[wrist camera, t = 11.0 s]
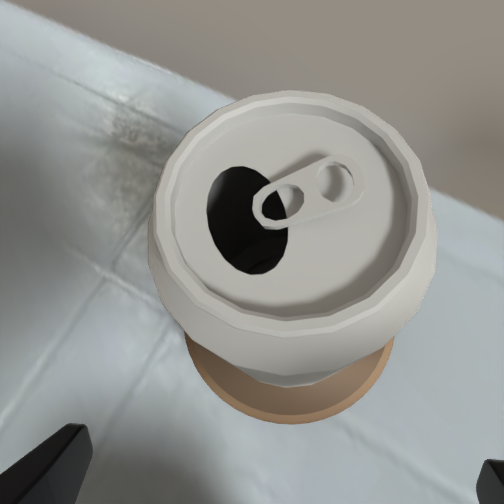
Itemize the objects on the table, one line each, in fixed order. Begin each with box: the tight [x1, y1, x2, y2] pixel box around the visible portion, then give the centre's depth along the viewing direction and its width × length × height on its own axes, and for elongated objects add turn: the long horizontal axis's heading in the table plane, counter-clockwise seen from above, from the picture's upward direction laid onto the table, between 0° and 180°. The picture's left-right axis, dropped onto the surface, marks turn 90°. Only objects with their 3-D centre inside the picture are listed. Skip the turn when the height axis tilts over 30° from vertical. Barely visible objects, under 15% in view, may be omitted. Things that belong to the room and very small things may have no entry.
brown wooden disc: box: [184, 330, 395, 424], centre depth 21 cm, size 11×11×4 cm
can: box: [148, 90, 438, 388], centre depth 14 cm, size 8×8×12 cm
